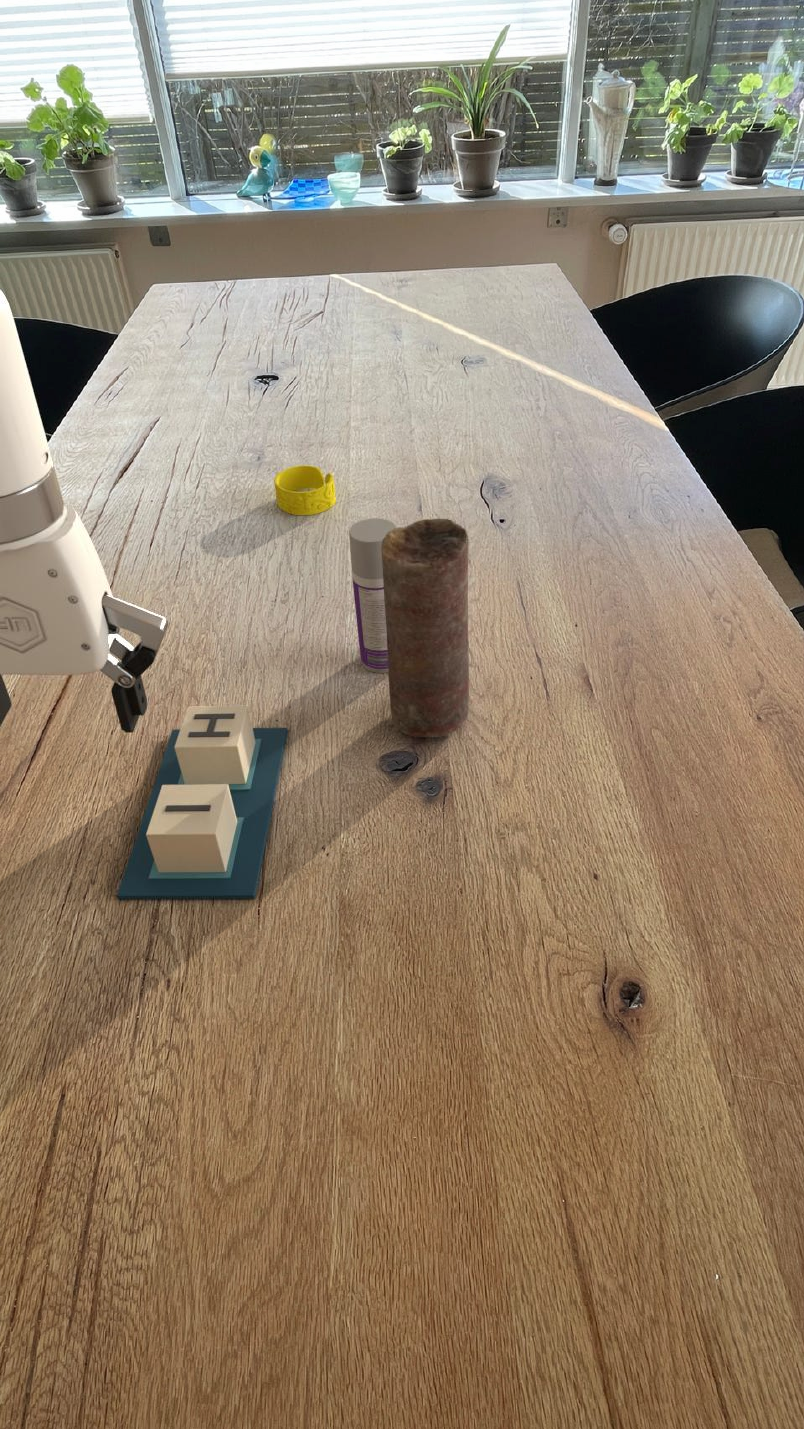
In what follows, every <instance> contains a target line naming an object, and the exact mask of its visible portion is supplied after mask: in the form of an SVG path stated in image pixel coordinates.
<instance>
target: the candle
mask: <svg viewBox="0 0 804 1429" xmlns="http://www.w3.org/2000/svg"><path fill="white" fill-rule="evenodd" d="M381 552H382V567H383V584H384V603H385V616H386V629H387V652H388V671H389V672H388V690H389V692H388V693H389V706H390V707H389V708H390V716H391V718H392V721H393V723H394V724H395V725H396V728H397V729H398V730H399V731H400V732H401V733H403V734H404V735H408V736H410V737H414V738H421V737H422V738H439V737H447V736H449V735H452V733H454V732H455V731H457V730H458V729H459V728H461V727H462V726H464V725H465V724H466V723H467V719H468V717H469V712H470V711H469V707H470V706H469V703H470V672H469V671H470V670H469V665H470V664H469V663H470V662H469V536H468V533H467V530H466V528H464V527H463V526H462V525H461V524H458V523H456V522H455V521H453V520H452V519H449V518H432V519H430V518H429V519H428V518H424V519H420V520H415V521H413V522H411V523H410V524H407V526H405V527H400V526H399V527H396V528H394V529H393V530H391V531H389V532H388V533H387V534H386V536H385V537H384V538H383V541H382V546H381Z"/></svg>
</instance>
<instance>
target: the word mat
mask: <svg viewBox="0 0 804 1429" xmlns="http://www.w3.org/2000/svg"><path fill="white" fill-rule="evenodd" d="M252 728H253V733H254V738H255V747H254V751H253V755H252V759H251V764H250V768H249V772H248V777H247V781H246V784H228V785H229V790H230V794H231V798H232V802H233V806H234V810H235V814H236V818H237V826H236V830H235V834H234V839H233V843H232V847H231V851H230V856H229V860H228V864H227V869H226V872H158V869H157V866H156V863H155V860H154V857H153V854H152V851H151V848H150V845H149V842H148V839H147V836H146V833H147V830H148V827H149V824H150V821H151V818H152V815H153V812H154V809H155V806H156V803H157V800H158V797H159V794H160V791H161V788H162V785H185V783H184V779H183V776H182V772H181V769H180V765H179V762H178V758H177V755H176V751H175V748H174V747H175V744H176V741H177V738H178V735H179V732H180V729H181V728H179V729H178V728H175V729H174V728H173V729H172V730H171V733H170V736H169V739H168V742H167V745H166V748H165V751H164V754H163V757H162V760H161V763H160V766H159V769H158V772H157V774H156V778H155V781H154V784H153V786H152V789H151V792H150V795H149V799H148V801H147V804H146V808H145V811H144V814H143V817H142V818H141V823H140V825H139V828H138V831H137V834H136V837H135V840H134V843H133V846H132V849H131V852H130V855H129V858H128V860H127V864H126V866H125V869H124V873H123V876H122V879H121V882H120V884H119V888H118V889H117V890H118V891H117V894H116V898H117V900H118V901H128V900H129V901H131V900H132V901H133V900H136V901H137V900H138V901H139V900H144V901H147V900H150V901H152V900H155V901H156V900H255V899H256V895H257V890H258V884H259V880H260V875H261V869H262V864H263V859H264V855H265V848H266V843H267V838H268V833H269V828H270V825H271V824H270V823H271V819H272V814H273V812H272V811H273V808H274V803H275V798H276V792H277V788H278V783H279V778H280V773H281V772H280V771H281V767H282V762H283V757H284V752H285V747H286V742H287V737H288V727H252ZM190 785H205V784H190Z"/></svg>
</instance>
